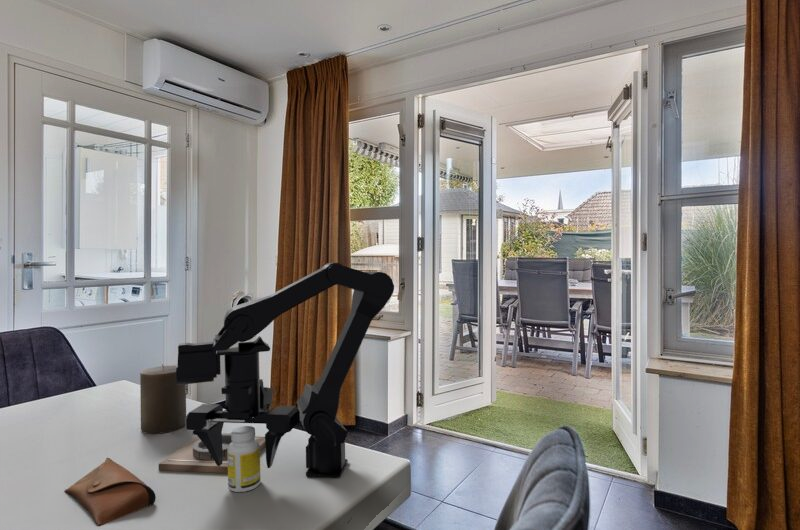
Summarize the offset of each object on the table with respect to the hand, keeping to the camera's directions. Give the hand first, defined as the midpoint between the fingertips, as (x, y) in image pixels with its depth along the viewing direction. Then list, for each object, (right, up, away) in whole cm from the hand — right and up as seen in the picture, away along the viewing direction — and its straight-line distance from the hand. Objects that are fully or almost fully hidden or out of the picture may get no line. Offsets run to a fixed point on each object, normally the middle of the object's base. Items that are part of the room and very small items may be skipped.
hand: (244, 466), depth 80 cm
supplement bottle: (0, -4, 0) cm, 4 cm away
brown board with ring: (-10, -3, +12) cm, 16 cm away
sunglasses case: (-22, -5, -3) cm, 23 cm away
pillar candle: (-29, -3, +29) cm, 41 cm away
